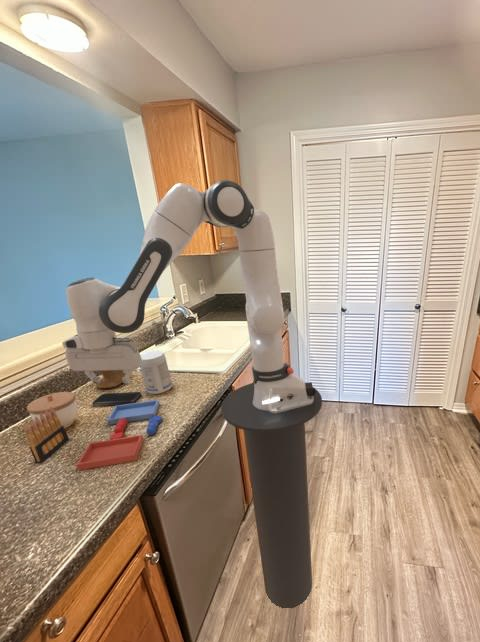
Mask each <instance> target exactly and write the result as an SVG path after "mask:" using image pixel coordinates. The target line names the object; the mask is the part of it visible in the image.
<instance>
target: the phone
mask: <svg viewBox="0 0 480 642" xmlns="http://www.w3.org/2000/svg"><path fill="white" fill-rule="evenodd" d="M141 396H142V393H141V391H129V392H127V391H126V392H105V393H102V394H100V395H99V396H98V397H97V398H96V399H94V400H93V401H92V406H93V407H100V406H101V407H103V406H104V407H105V406H106V407H107V406H118V405H124V404H132V403H137V401H138V400H139V398H141Z"/></svg>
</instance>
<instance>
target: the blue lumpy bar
mask: <svg viewBox="0 0 480 642" xmlns="http://www.w3.org/2000/svg"><path fill="white" fill-rule="evenodd" d="M148 420H149V422H148V425H147V426H146V430H145V431H146V434H147V435H149V436H153V435H155V434H156V431H157V429H158V425H159V424H161V423H162V422H163V419H162V416H160V415H156V416H155V417H152V418H151V419H148Z"/></svg>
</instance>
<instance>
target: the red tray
mask: <svg viewBox="0 0 480 642" xmlns="http://www.w3.org/2000/svg"><path fill="white" fill-rule="evenodd" d="M143 443H144V436H143V434H137V435H132V436H124V438H118V439H112V440H111V439H106V440H100V441H93V442H89V443H88V445H87V446H86V448H85V450H84V452H83V453H82V455H81V457H79V460H78V462H77V463H76V465H75V466H76V467H77V470H78V471H83V470H89V469H95V468H100V467H107V466H112V465H117V464H123V463H128V462H129V463H130V462H134V461H137V460H138V456H139V454H140V451H141V448H142V446H143Z"/></svg>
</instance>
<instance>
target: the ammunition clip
mask: <svg viewBox="0 0 480 642" xmlns="http://www.w3.org/2000/svg"><path fill="white" fill-rule="evenodd" d="M50 414H51V415H50ZM50 414H49V412H48V411H47V410H45V416H46V418H45V417H44V415H43V414H42V413H40V420H41V422H42V424H41V422H40V420H39V419H38V418H37V417H35V422H34V421H33V419H30V420H29V425H28V424H27V423H24V424H23V428H24V432H25V436H26V439H27V442H28V443H29V450H30V452H31V455H32V457H33V461H34V462H35V463H43V462H45V461H46V460H47V459H48V458H49V457H51V456H52V455H53V454H55V452H57V450H59V449H60V448H61V447H63V445H65V444H66V443H67V442H68V441H69V440H70V438H69V436H68V434H67V431H66V428H64V427H63V426H62V425H61V423H60V420H59V418H58V417H57V415H56V413H55V411H54V409H53V408H52V407H50ZM46 419H47V420H46Z"/></svg>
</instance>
